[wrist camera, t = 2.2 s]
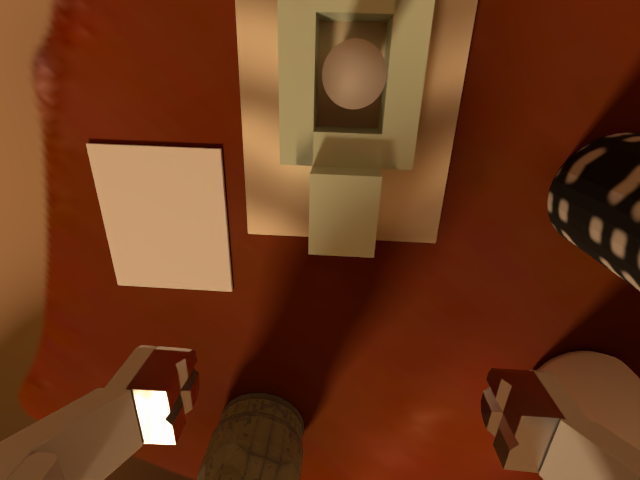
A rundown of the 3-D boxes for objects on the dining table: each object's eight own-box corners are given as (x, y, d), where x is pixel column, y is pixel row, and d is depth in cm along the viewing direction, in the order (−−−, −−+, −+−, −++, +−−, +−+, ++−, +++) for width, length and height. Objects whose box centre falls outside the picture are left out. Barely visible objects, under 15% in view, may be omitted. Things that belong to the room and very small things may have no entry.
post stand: (238, -57, 21) (138, -187, 11) (479, -53, 21) (616, -187, 10) (252, 226, 29) (200, 310, 18) (431, 235, 28) (483, 327, 18)
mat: (88, 142, 27) (85, 143, 27) (221, 148, 26) (220, 149, 26) (120, 283, 32) (117, 285, 31) (232, 289, 31) (231, 291, 31)
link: (285, -21, 21) (269, -49, 16) (426, -19, 20) (450, -46, 16) (287, 223, 27) (275, 252, 22) (396, 228, 27) (407, 259, 22)
